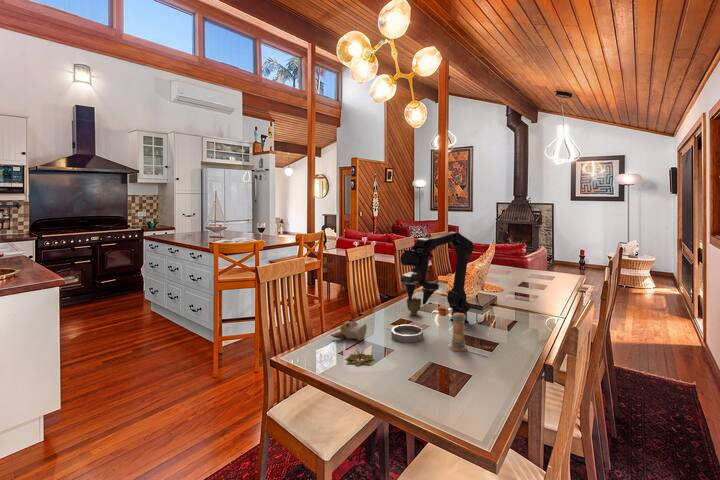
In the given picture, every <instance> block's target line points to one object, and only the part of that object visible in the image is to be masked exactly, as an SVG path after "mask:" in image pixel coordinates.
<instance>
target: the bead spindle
mask: <svg viewBox="0 0 720 480" xmlns="http://www.w3.org/2000/svg"><path fill="white" fill-rule="evenodd" d="M451 317H452V319H453V321H452V340H451V343H450V344H449V345H450V346H449V350H451V351H453V352H458V353H460V352H461V353H462V352H466V351H467V350H468V349H467V348H468V347H467V346H468V345H467V344H466V340H465V324H466V323H465V320H466V316H465V314H463V313H454V314H453V315H452V314H451Z"/></svg>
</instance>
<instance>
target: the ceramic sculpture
mask: <svg viewBox="0 0 720 480" xmlns="http://www.w3.org/2000/svg"><path fill="white" fill-rule="evenodd" d="M339 329H340V331H339V332H335V333H334V334H332V333H331V334H330V336H332V337H333V338H335V339H339V340H342V339H346V340H347V339H348V340H352V339H356V340H357V341H359V342H360V341H363V340H364V338H365V336H366V334H367V323H365V324H358V323H357V321H355V320H354V319H349V321H345V322H343V323H342V325H341V326H340V328H339Z"/></svg>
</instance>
